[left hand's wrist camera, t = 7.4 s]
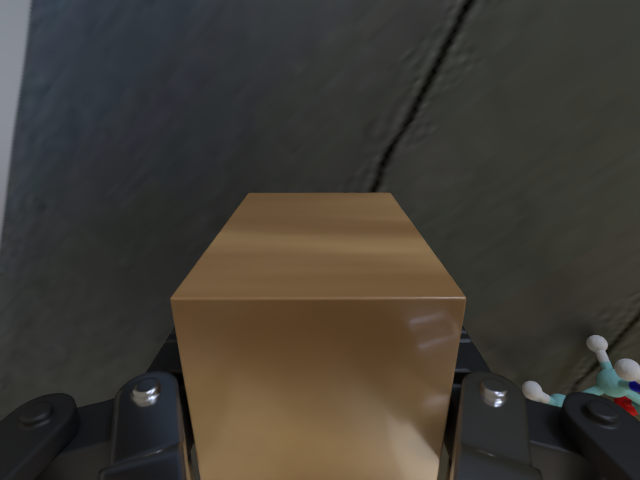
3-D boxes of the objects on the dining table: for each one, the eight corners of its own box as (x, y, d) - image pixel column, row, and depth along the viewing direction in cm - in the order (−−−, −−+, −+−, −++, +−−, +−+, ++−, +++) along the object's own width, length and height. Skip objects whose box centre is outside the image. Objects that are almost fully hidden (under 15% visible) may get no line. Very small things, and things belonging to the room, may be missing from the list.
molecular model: (534, 487, 28) (678, 577, 18) (484, 361, 29) (592, 381, 19) (651, 428, 30) (835, 479, 20) (599, 314, 31) (747, 310, 22)
